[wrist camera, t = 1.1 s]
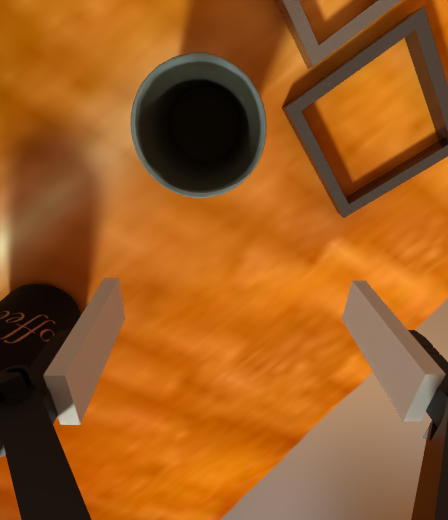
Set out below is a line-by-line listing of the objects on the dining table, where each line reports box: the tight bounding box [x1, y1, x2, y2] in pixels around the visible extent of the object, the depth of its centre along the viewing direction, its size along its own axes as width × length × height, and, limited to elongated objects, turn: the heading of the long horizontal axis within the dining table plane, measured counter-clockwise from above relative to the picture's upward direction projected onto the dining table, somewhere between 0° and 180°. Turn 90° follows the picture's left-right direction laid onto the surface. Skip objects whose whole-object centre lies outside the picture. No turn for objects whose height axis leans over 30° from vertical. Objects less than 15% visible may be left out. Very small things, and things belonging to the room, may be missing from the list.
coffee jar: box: [0, 284, 81, 371], centre depth 36 cm, size 11×11×18 cm
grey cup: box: [131, 53, 266, 198], centre depth 28 cm, size 10×10×12 cm
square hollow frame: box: [282, 7, 448, 218], centre depth 32 cm, size 14×14×2 cm
